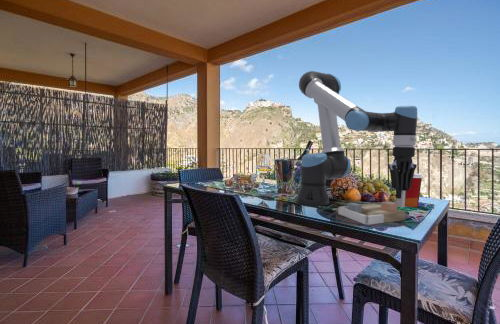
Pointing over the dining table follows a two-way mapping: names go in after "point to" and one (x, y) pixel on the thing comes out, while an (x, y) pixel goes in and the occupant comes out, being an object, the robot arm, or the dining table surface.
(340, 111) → the robot arm
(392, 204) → the tan block
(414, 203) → the coffee cup
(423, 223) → the dining table surface
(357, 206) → the tile grey
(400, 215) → the board
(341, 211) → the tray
